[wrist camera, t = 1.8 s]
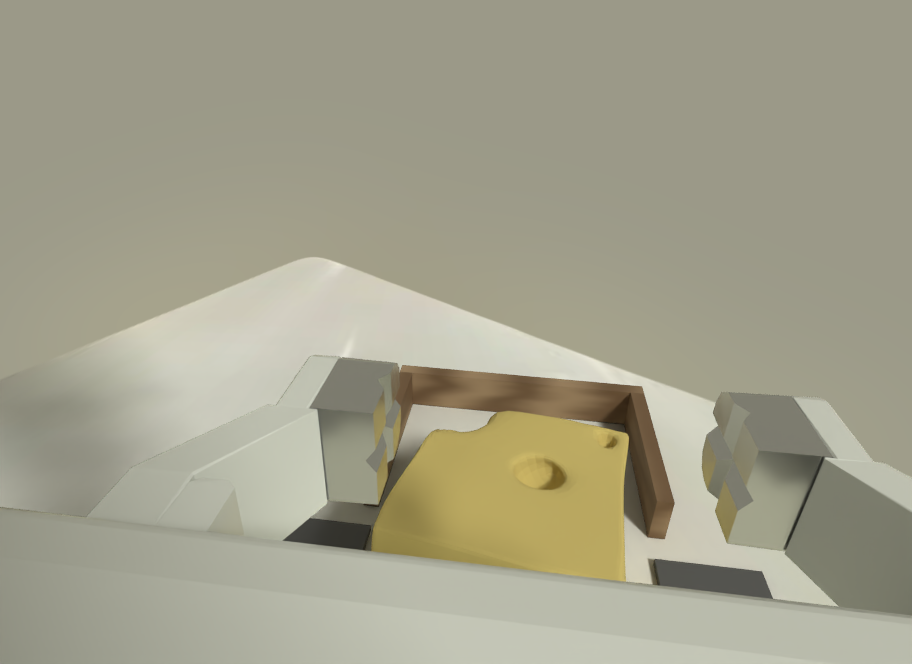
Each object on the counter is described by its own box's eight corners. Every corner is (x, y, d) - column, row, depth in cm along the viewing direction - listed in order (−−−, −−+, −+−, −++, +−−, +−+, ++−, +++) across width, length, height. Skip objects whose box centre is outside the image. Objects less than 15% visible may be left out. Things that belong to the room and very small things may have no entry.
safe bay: (363, 504, 38) (361, 469, 36) (403, 395, 49) (402, 365, 47) (664, 539, 36) (674, 502, 34) (635, 417, 47) (642, 386, 45)
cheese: (438, 520, 37) (440, 389, 32) (612, 563, 34) (643, 427, 29) (372, 677, 28) (361, 528, 23) (600, 750, 25) (640, 600, 21)
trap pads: (224, 619, 30) (223, 614, 30) (277, 519, 36) (276, 514, 36) (809, 700, 27) (811, 695, 27) (760, 576, 34) (762, 571, 33)
